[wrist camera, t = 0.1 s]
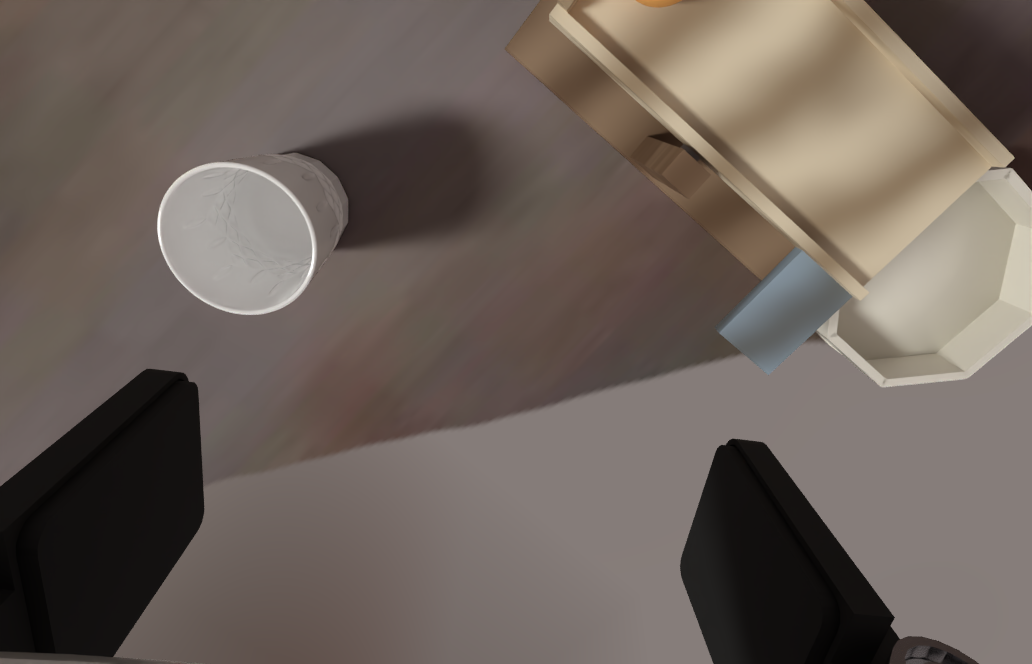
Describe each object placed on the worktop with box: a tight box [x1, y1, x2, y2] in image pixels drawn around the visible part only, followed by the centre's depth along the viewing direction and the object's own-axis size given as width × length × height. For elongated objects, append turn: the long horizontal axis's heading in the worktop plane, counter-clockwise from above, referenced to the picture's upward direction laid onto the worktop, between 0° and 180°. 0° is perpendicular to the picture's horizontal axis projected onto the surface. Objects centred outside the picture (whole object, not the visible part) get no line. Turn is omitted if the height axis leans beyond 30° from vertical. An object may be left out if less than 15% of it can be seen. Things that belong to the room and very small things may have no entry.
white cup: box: [157, 153, 348, 315], centre depth 35 cm, size 8×8×10 cm
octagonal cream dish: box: [816, 167, 1032, 387], centre depth 41 cm, size 14×14×4 cm
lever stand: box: [505, 0, 795, 280], centre depth 33 cm, size 23×14×9 cm, turn 51°
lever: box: [549, 0, 1015, 375], centre depth 32 cm, size 22×16×6 cm
